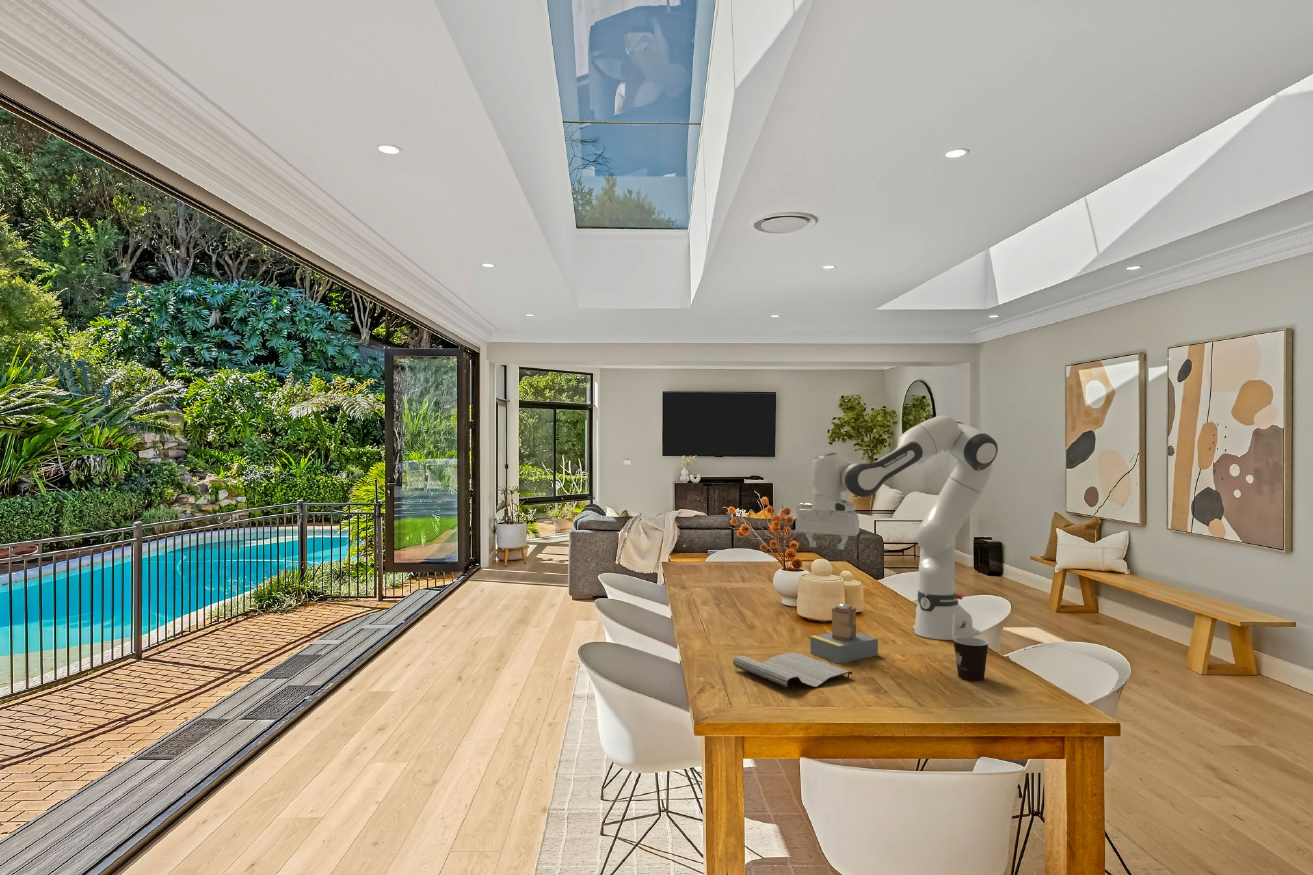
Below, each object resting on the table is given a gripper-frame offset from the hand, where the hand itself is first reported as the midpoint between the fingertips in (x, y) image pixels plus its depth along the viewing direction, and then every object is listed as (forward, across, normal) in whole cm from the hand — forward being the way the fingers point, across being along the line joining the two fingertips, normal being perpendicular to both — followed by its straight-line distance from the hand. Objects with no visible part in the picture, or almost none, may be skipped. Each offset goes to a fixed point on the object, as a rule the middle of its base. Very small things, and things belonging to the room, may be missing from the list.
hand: (826, 548), depth 213 cm
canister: (+18, +7, -4) cm, 20 cm away
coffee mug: (+31, +42, -2) cm, 53 cm away
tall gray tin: (+26, +7, -4) cm, 27 cm away
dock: (+31, +7, -4) cm, 32 cm away
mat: (+32, +3, -30) cm, 44 cm away
